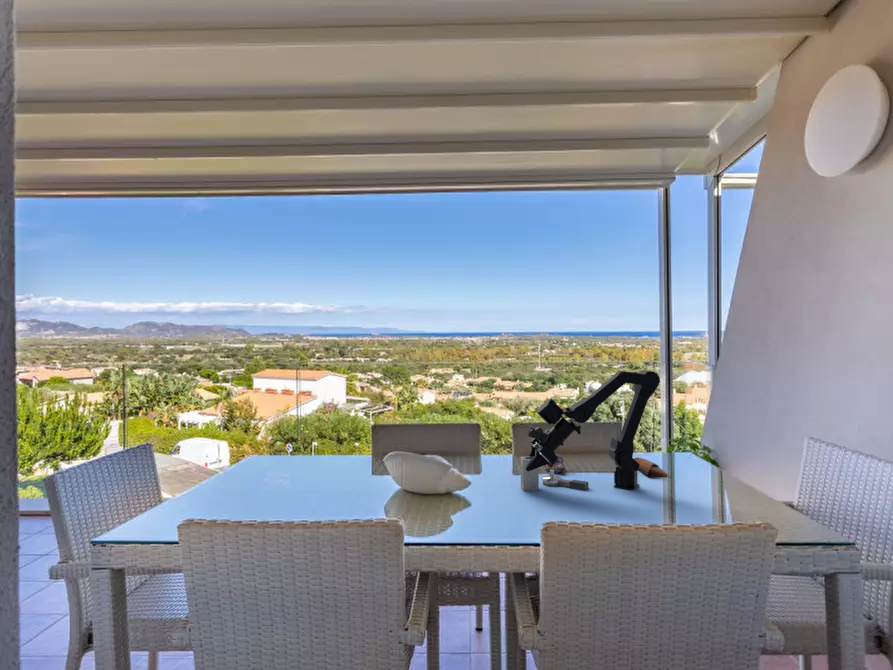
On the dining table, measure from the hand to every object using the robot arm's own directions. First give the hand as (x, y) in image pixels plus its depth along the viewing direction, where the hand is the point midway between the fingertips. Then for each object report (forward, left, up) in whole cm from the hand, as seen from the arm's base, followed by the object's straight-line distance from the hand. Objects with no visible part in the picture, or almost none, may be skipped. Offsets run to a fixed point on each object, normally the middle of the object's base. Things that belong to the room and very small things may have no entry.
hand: (525, 468), depth 196 cm
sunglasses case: (-26, -46, -7) cm, 53 cm away
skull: (+3, -28, -7) cm, 29 cm away
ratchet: (-9, -11, -7) cm, 15 cm away
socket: (-1, -1, -7) cm, 7 cm away
